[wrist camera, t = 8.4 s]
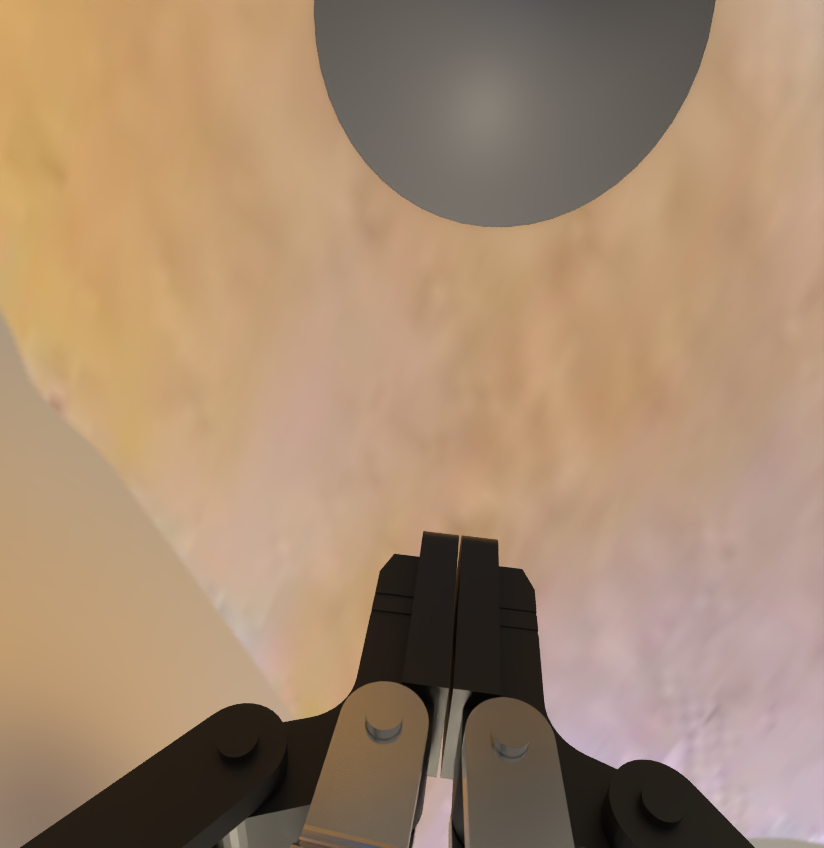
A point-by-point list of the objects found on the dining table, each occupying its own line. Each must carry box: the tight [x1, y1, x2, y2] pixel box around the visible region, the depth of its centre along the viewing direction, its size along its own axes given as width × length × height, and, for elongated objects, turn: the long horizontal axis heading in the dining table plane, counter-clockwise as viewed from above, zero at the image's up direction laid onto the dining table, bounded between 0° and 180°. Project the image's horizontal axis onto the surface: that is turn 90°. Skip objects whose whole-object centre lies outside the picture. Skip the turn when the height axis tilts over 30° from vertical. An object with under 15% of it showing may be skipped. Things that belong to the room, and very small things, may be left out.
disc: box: [314, 0, 715, 227], centre depth 19 cm, size 12×12×1 cm
